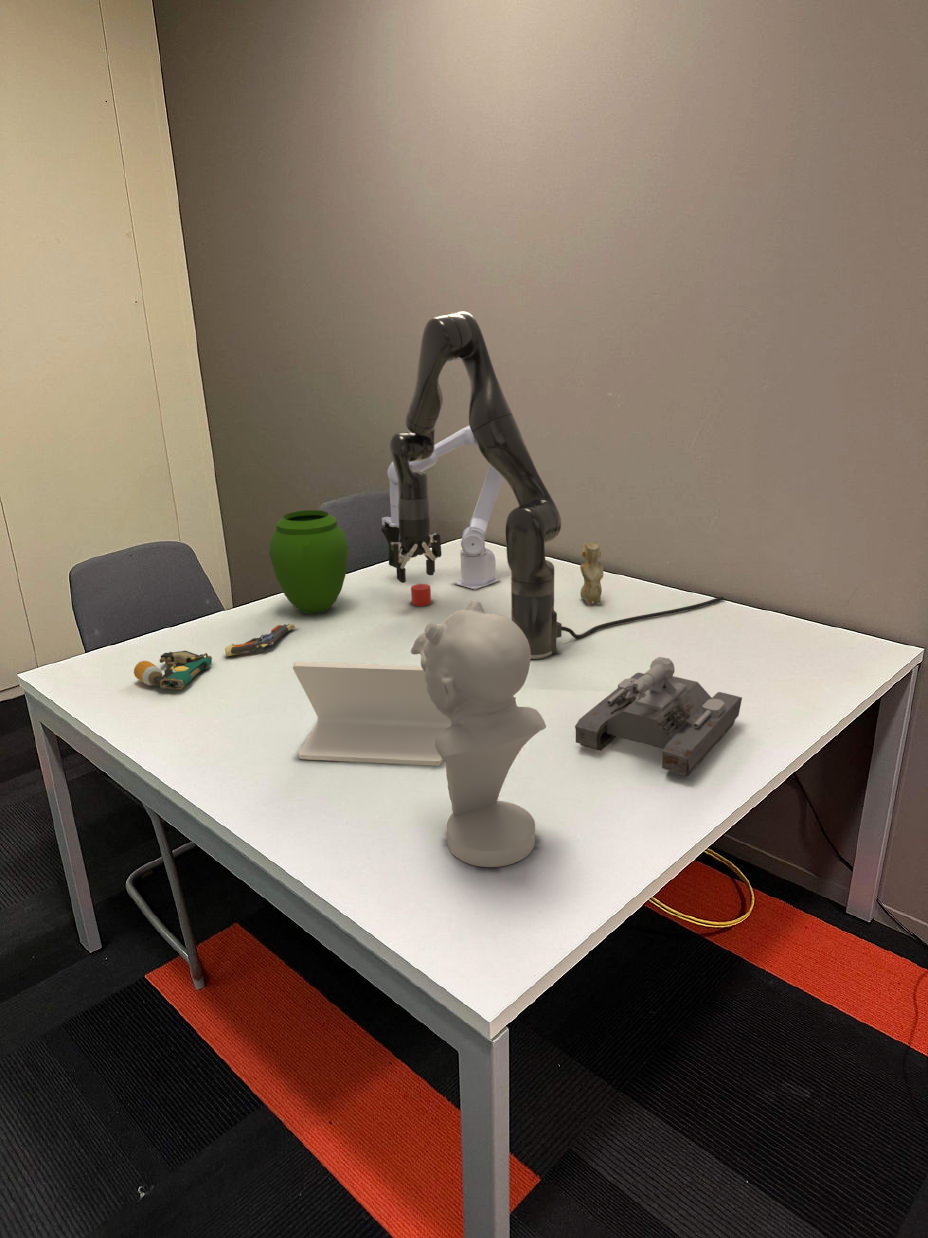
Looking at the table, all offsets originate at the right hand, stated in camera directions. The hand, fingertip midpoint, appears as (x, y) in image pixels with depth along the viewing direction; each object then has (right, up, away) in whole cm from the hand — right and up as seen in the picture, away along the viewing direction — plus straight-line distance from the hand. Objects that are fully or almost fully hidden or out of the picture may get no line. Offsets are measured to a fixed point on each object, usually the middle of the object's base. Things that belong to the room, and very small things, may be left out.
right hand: (416, 578), depth 212 cm
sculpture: (+44, -6, +5) cm, 45 cm away
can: (+1, -6, +8) cm, 10 cm away
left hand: (-4, +7, +19) cm, 21 cm away
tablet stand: (-3, -31, -59) cm, 67 cm away
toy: (+46, -31, -62) cm, 83 cm away
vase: (-26, -8, +6) cm, 28 cm away
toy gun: (-35, -16, -15) cm, 41 cm away
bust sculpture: (+13, -41, -87) cm, 97 cm away
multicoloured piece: (-49, -22, -31) cm, 62 cm away
